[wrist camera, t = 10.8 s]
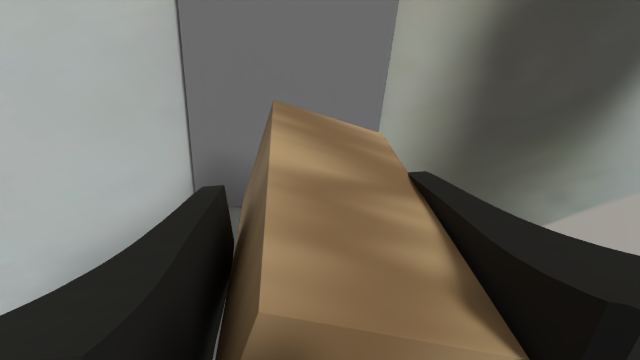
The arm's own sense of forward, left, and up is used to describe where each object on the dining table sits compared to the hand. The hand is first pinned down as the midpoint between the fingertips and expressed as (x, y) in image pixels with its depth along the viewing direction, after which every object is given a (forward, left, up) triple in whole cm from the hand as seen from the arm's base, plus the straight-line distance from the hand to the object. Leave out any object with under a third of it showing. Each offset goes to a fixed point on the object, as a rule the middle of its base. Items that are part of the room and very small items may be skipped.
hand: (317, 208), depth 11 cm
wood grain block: (0, 0, -3) cm, 3 cm away
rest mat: (+1, 0, -10) cm, 10 cm away
